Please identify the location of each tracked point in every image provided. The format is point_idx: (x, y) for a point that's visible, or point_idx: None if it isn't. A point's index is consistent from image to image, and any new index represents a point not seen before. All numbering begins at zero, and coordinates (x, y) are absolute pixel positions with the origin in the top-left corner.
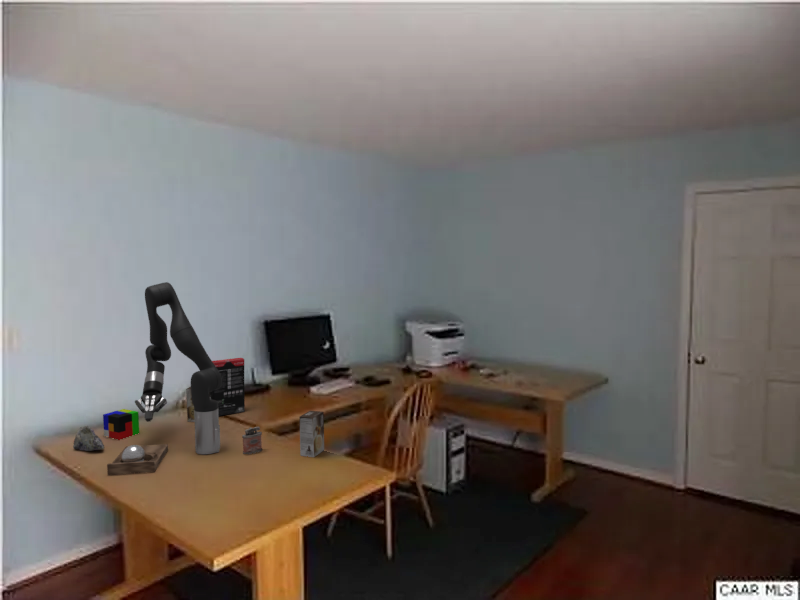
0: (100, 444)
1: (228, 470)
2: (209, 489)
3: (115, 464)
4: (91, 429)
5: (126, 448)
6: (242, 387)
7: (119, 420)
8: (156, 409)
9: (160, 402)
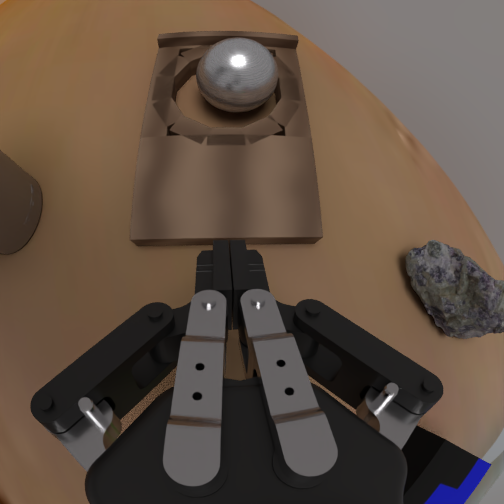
0: (424, 254)
1: (9, 78)
2: (65, 11)
3: (273, 34)
4: (494, 286)
5: (263, 48)
6: None
7: (431, 440)
8: (153, 309)
9: (97, 374)
